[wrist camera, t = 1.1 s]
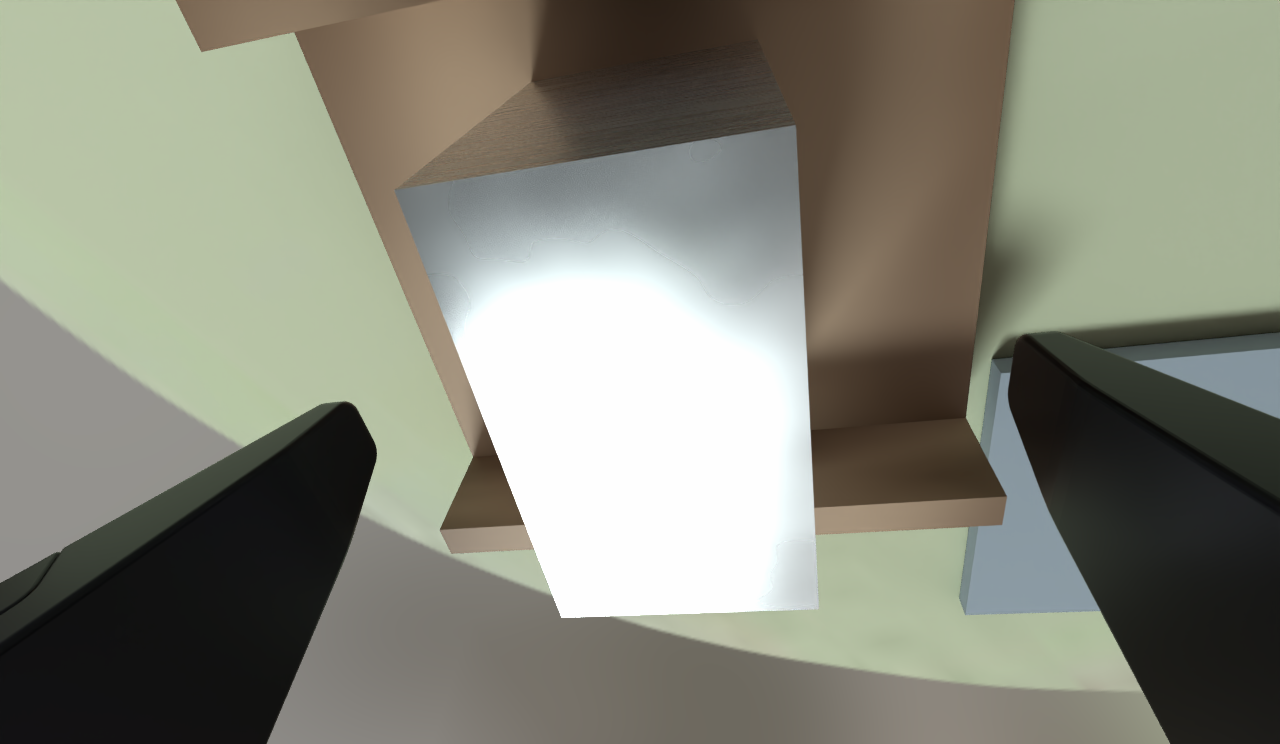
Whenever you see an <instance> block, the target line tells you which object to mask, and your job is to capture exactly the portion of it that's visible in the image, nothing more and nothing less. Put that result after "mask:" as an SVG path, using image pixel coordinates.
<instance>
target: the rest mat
mask: <svg viewBox="0 0 1280 744" xmlns="http://www.w3.org/2000/svg"><path fill="white" fill-rule="evenodd" d="M1104 350H1106V351H1109V352H1111V353H1114V354H1117V355H1119V356H1122V357H1124V358H1127V359H1129V360H1132V361H1134V362H1137V363H1139V364H1142V365H1144V366H1147V367H1150V368H1152V369H1155V370H1157V371H1160V372H1162V373H1165V374H1167V375H1170V376H1172V377H1175V378H1177V379H1180V380H1183V381H1185V382H1188V383H1190V384H1193V385H1195V386H1198V387H1200V388H1203V389H1205V390H1208V391H1211V392H1213V393H1216V394H1218V395H1221V396H1223V397H1226V398H1228V399H1231V400H1233V401H1236V402H1239V403H1241V404H1244V405H1246V406H1249V407H1251V408H1254V409H1256V410H1259V411H1261V412H1264V413H1267V414H1269V415H1272V416H1274V417H1277V418H1279V419H1280V332H1279V333H1268V334H1257V335H1247V336H1236V337H1225V338H1215V339H1204V340H1193V341H1183V342H1172V343H1162V344H1151V345H1140V346H1130V347H1119V348H1108V349H1104ZM1012 360H1013V358H1002V359H992V362H991V369H990V377H989V384H988V391H987V399H986V406H985V413H984V421H983V428H982V435H981V443H980V446H981V448H982V450H983V452H984V454H985V455H986V457H987V459H988V461H989V463H990V465H991V467H992V469H993V471H994V472H995V474H996V476H997V478H998V480H999V482H1000V484H1001V486H1002V488H1003V490H1004V491H1005V493H1006V495H1007V501H1006V506H1005V512H1004V518H1003V523H1002V525H995V526H975V527H969V530H968V538H967V545H966V552H965V560H964V567H963V574H962V582H961V589H960V596H959V599H960V602H961V604H962V607H963V610H964V612H965V615H979V614H1013V613H1047V612H1081V611H1100V609H1099V607H1098V606H1097V604H1096V602H1095V600H1094V598H1093V596H1092V594H1091V592H1090V590H1089V588H1088V587H1087V585H1086V583H1085V581H1084V579H1083V577H1082V575H1081V573H1080V571H1079V569H1078V568H1077V566H1076V564H1075V562H1074V560H1073V558H1072V556H1071V554H1070V552H1069V550H1068V549H1067V547H1066V545H1065V543H1064V541H1063V539H1062V537H1061V535H1060V533H1059V531H1058V530H1057V528H1056V525H1055V523H1054V521H1053V519H1052V517H1051V515H1050V513H1049V511H1048V509H1047V506H1046V504H1045V501H1044V499H1043V496H1042V494H1041V491H1040V488H1039V486H1038V483H1037V480H1036V478H1035V475H1034V472H1033V470H1032V467H1031V464H1030V462H1029V459H1028V456H1027V454H1026V451H1025V448H1024V446H1023V443H1022V440H1021V438H1020V435H1019V432H1018V429H1017V427H1016V424H1015V421H1014V419H1013V416H1012V413H1011V411H1010V408H1009V403H1008V386H1009V379H1010V373H1011V366H1012Z"/></svg>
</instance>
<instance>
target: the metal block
mask: <svg viewBox="0 0 1280 744" xmlns="http://www.w3.org/2000/svg"><path fill="white" fill-rule="evenodd" d="M394 191H395V194H396V196H397V199H398V201H399V204H400V207H401V209H402V212H403V214H404V217H405V219H406V222H407V224H408V227H409V229H410V232H411V235H412V237H413V240H414V242H415V245H416V247H417V250H418V252H419V255H420V257H421V260H422V263H423V265H424V268H425V270H426V273H427V275H428V278H429V280H430V283H431V285H432V288H433V291H434V293H435V296H436V298H437V301H438V303H439V306H440V308H441V311H442V314H443V316H444V319H445V321H446V324H447V326H448V329H449V331H450V334H451V336H452V339H453V342H454V344H455V347H456V349H457V352H458V354H459V357H460V359H461V362H462V364H463V367H464V370H465V372H466V375H467V377H468V380H469V382H470V385H471V387H472V390H473V392H474V395H475V398H476V400H477V403H478V405H479V408H480V410H481V413H482V415H483V418H484V420H485V423H486V426H487V428H488V431H489V433H490V436H491V438H492V441H493V443H494V446H495V448H496V451H497V454H498V456H499V459H500V461H501V464H502V466H503V469H504V471H505V474H506V476H507V479H508V482H509V484H510V487H511V489H512V492H513V494H514V497H515V499H516V502H517V504H518V507H519V510H520V512H521V515H522V517H523V520H524V522H525V525H526V527H527V530H528V533H529V535H530V538H531V540H532V543H533V545H534V548H535V550H536V553H537V555H538V558H539V561H540V563H541V566H542V568H543V571H544V573H545V576H546V578H547V581H548V583H549V586H550V589H551V591H552V594H553V596H554V599H555V601H556V604H557V606H558V609H559V611H560V614H561V616H562V617H587V616H620V615H651V614H683V613H714V612H745V611H777V610H808V609H819V600H818V579H817V558H816V537H815V516H814V495H813V474H812V453H811V432H810V411H809V390H808V369H807V348H806V327H805V306H804V285H803V264H802V243H801V222H800V201H799V180H798V159H797V137H796V124H795V122H794V120H793V118H792V115H791V113H790V111H789V109H788V106H787V104H786V102H785V100H784V97H783V95H782V93H781V91H780V88H779V86H778V84H777V82H776V79H775V77H774V75H773V73H772V70H771V68H770V66H769V64H768V61H767V59H766V57H765V55H764V52H763V50H762V48H761V46H760V44H759V41H758V39H757V40H752V41H747V42H741V43H736V44H730V45H725V46H720V47H714V48H709V49H704V50H698V51H693V52H688V53H682V54H677V55H672V56H666V57H661V58H655V59H650V60H645V61H639V62H634V63H629V64H623V65H618V66H613V67H607V68H602V69H597V70H591V71H586V72H580V73H575V74H570V75H564V76H559V77H554V78H548V79H543V80H538V81H532V82H530V83H529V84H528V85H526V86H525V87H524V88H523V89H521V90H520V91H519V92H518V93H516V94H515V95H514V96H512V97H511V98H510V99H509V100H507V101H506V102H505V103H504V104H502V105H501V106H500V107H499V108H497V109H496V110H495V111H494V112H492V113H491V114H490V115H488V116H487V117H486V118H485V119H483V120H482V121H481V122H480V123H478V124H477V125H476V126H475V127H473V128H472V129H471V130H469V131H468V132H467V133H466V134H464V135H463V136H462V137H461V138H459V139H458V140H457V141H456V142H454V143H453V144H452V145H451V146H449V147H448V148H447V149H445V150H444V151H443V152H442V153H440V154H439V155H438V156H437V157H435V158H434V159H433V160H432V161H430V162H429V163H428V164H426V165H425V166H424V167H423V168H421V169H420V170H419V171H418V172H416V173H415V174H414V175H413V176H411V177H410V178H409V179H408V180H406V181H405V182H404V183H402V184H401V185H400V186H399V187H397V188H396V189H395V190H394Z"/></svg>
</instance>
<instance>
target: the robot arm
mask: <svg viewBox="0 0 1280 744" xmlns="http://www.w3.org/2000/svg"><path fill="white" fill-rule="evenodd" d="M1008 403H1009V408H1010V411H1011V413H1012V416H1013V419H1014V421H1015V424H1016V427H1017V429H1018V432H1019V435H1020V438H1021V440H1022V443H1023V446H1024V448H1025V451H1026V454H1027V456H1028V459H1029V462H1030V464H1031V467H1032V470H1033V472H1034V475H1035V478H1036V480H1037V483H1038V486H1039V488H1040V491H1041V494H1042V496H1043V499H1044V501H1045V504H1046V506H1047V509H1048V511H1049V513H1050V515H1051V517H1052V519H1053V521H1054V523H1055V525H1056V528H1057V530H1058V531H1059V533H1060V535H1061V537H1062V539H1063V541H1064V543H1065V545H1066V547H1067V549H1068V550H1069V552H1070V554H1071V556H1072V558H1073V560H1074V562H1075V564H1076V566H1077V568H1078V569H1079V571H1080V573H1081V575H1082V577H1083V579H1084V581H1085V583H1086V585H1087V587H1088V588H1089V590H1090V592H1091V594H1092V596H1093V598H1094V600H1095V602H1096V604H1097V606H1098V607H1099V609H1100V611H1101V613H1102V615H1103V617H1104V619H1105V621H1106V623H1107V624H1108V626H1109V628H1110V630H1111V632H1112V634H1113V636H1114V638H1115V640H1116V642H1117V643H1118V645H1119V647H1120V649H1121V651H1122V653H1123V655H1124V657H1125V659H1126V661H1127V662H1128V664H1129V666H1130V668H1131V670H1132V672H1133V674H1134V676H1135V678H1136V680H1137V681H1138V683H1139V685H1140V687H1141V689H1142V691H1143V693H1144V695H1145V697H1146V699H1147V700H1148V702H1149V704H1150V706H1151V708H1152V710H1153V712H1154V714H1155V716H1156V717H1157V719H1158V721H1159V723H1160V725H1161V727H1162V729H1163V731H1164V732H1165V735H1166V736H1167V738H1168V740H1169V742H1170V744H1280V419H1279V418H1277V417H1274V416H1272V415H1269V414H1267V413H1264V412H1261V411H1259V410H1256V409H1254V408H1251V407H1249V406H1246V405H1244V404H1241V403H1239V402H1236V401H1233V400H1231V399H1228V398H1226V397H1223V396H1221V395H1218V394H1216V393H1213V392H1211V391H1208V390H1205V389H1203V388H1200V387H1198V386H1195V385H1193V384H1190V383H1188V382H1185V381H1183V380H1180V379H1177V378H1175V377H1172V376H1170V375H1167V374H1165V373H1162V372H1160V371H1157V370H1155V369H1152V368H1150V367H1147V366H1144V365H1142V364H1139V363H1137V362H1134V361H1132V360H1129V359H1127V358H1124V357H1122V356H1119V355H1117V354H1114V353H1111V352H1109V351H1106V350H1104V349H1101V348H1099V347H1096V346H1094V345H1091V344H1089V343H1086V342H1083V341H1081V340H1078V339H1076V338H1073V337H1071V336H1068V335H1066V334H1063V333H1061V332H1055V331H1051V332H1041V333H1031V334H1024V335H1022V336H1021V337H1019V338H1018V340H1017V342H1016V344H1015V348H1014V354H1013V360H1012V366H1011V373H1010V379H1009V386H1008ZM376 458H377V449H376V445H375V442H374V440H373V438H372V437H371V435H370V433H369V431H368V429H367V427H366V425H365V423H364V421H363V419H362V417H361V415H360V414H359V412H358V410H357V408H356V407H355V406H354V405H353V404H352V403H349V402H346V401H345V402H333V403H324V404H321V405H319V406H317V407H315V408H313V409H311V410H310V411H308V412H306V413H304V414H303V415H301V416H299V417H297V418H295V419H294V420H292V421H290V422H288V423H286V424H285V425H283V426H281V427H279V428H278V429H276V430H274V431H272V432H270V433H269V434H267V435H265V436H263V437H261V438H260V439H258V440H256V441H254V442H252V443H251V444H249V445H247V446H245V447H244V448H242V449H240V450H238V451H236V452H235V453H233V454H231V455H229V456H228V457H226V458H224V459H222V460H221V461H218V462H217V463H215V464H213V465H211V466H210V467H208V468H206V469H204V470H202V471H201V472H199V473H197V474H195V475H194V476H192V477H190V478H188V479H186V480H185V481H183V482H181V483H179V484H177V485H176V486H174V487H172V488H171V489H168V490H167V491H165V492H163V493H161V494H159V495H158V496H156V497H154V498H152V499H151V500H149V501H147V502H145V503H143V504H142V505H140V506H138V507H136V508H134V509H133V510H131V511H129V512H127V513H126V514H124V515H122V516H120V517H119V518H117V519H115V520H113V521H111V522H109V523H108V524H106V525H104V526H102V527H100V528H99V529H97V530H95V531H93V532H92V533H90V534H88V535H86V536H84V537H83V538H81V539H79V540H77V541H75V542H74V543H72V544H70V545H68V546H67V547H65V548H64V549H63V550H62V551H61V553H60V552H56V553H54V554H52V555H50V556H48V557H47V558H45V559H43V560H41V561H40V562H38V563H36V564H34V565H33V566H30V567H29V568H27V569H25V570H23V571H22V572H20V573H18V574H16V575H14V576H13V577H11V578H9V579H7V580H5V581H3V582H1V583H0V744H267V742H268V739H269V737H270V735H271V732H272V730H273V728H274V725H275V723H276V721H277V718H278V716H279V713H280V711H281V709H282V706H283V704H284V701H285V699H286V697H287V695H288V692H289V690H290V687H291V685H292V682H293V680H294V678H295V676H296V673H297V671H298V668H299V666H300V664H301V662H302V659H303V657H304V654H305V652H306V650H307V647H308V645H309V643H310V640H311V638H312V636H313V633H314V631H315V628H316V626H317V624H318V621H319V619H320V617H321V614H322V612H323V610H324V607H325V605H326V603H327V600H328V598H329V595H330V593H331V591H332V588H333V586H334V584H335V581H336V579H337V577H338V574H339V572H340V569H341V567H342V565H343V562H344V560H345V557H346V554H347V552H348V549H349V546H350V544H351V540H352V538H353V535H354V531H355V528H356V525H357V522H358V518H359V515H360V512H361V509H362V505H363V502H364V499H365V496H366V492H367V489H368V486H369V482H370V479H371V476H372V473H373V469H374V466H375V463H376Z"/></svg>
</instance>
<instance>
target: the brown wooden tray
mask: <svg viewBox="0 0 1280 744" xmlns="http://www.w3.org/2000/svg"><path fill="white" fill-rule="evenodd" d="M176 2H177V4H178V6H179V8H180V10H181V12H182V14H183V16H184V18H185V20H186V22H187V24H188V26H189V28H190V30H191V32H192V34H193V36H194V38H195V40H196V42H197V44H198V46H199V48H200V50H201V52H204V51H208V50H213V49H218V48H222V47H227V46H231V45H236V44H241V43H245V42H250V41H255V40H259V39H264V38H269V37H273V36H278V35H282V34H287V33H292V32H294V33H295V35H296V37H297V40H298V42H299V44H300V47H301V49H302V52H303V54H304V56H305V59H306V61H307V63H308V66H309V68H310V71H311V73H312V75H313V78H314V80H315V82H316V85H317V87H318V90H319V92H320V94H321V97H322V99H323V101H324V104H325V106H326V109H327V111H328V113H329V116H330V118H331V120H332V123H333V125H334V128H335V130H336V132H337V135H338V137H339V139H340V142H341V144H342V147H343V149H344V151H345V154H346V156H347V158H348V161H349V163H350V166H351V168H352V170H353V173H354V175H355V177H356V180H357V182H358V185H359V187H360V189H361V192H362V194H363V196H364V199H365V201H366V204H367V206H368V208H369V211H370V213H371V215H372V218H373V220H374V223H375V225H376V227H377V230H378V232H379V234H380V237H381V239H382V242H383V244H384V246H385V249H386V251H387V253H388V256H389V258H390V261H391V263H392V265H393V268H394V270H395V272H396V275H397V277H398V280H399V282H400V284H401V287H402V289H403V291H404V294H405V296H406V299H407V301H408V303H409V306H410V308H411V310H412V313H413V315H414V318H415V320H416V322H417V325H418V327H419V329H420V332H421V334H422V337H423V339H424V341H425V344H426V346H427V348H428V351H429V353H430V356H431V358H432V360H433V363H434V365H435V367H436V370H437V372H438V375H439V377H440V379H441V382H442V384H443V386H444V389H445V391H446V394H447V396H448V398H449V401H450V403H451V405H452V408H453V410H454V413H455V415H456V417H457V420H458V422H459V424H460V427H461V429H462V432H463V434H464V436H465V439H466V441H467V443H468V446H469V448H470V451H471V453H472V455H473V459H472V461H471V463H470V465H469V467H468V470H467V472H466V474H465V476H464V478H463V480H462V483H461V485H460V487H459V489H458V491H457V493H456V496H455V498H454V500H453V502H452V504H451V506H450V509H449V511H448V513H447V515H446V517H445V519H444V522H443V524H442V526H441V528H440V532H441V534H442V536H443V538H444V540H445V542H446V544H447V546H448V548H449V550H450V552H451V554H453V553H473V552H492V551H511V550H531V549H535V548H534V545H533V543H532V540H531V538H530V535H529V533H528V530H527V527H526V525H525V522H524V520H523V517H522V515H521V512H520V510H519V507H518V504H517V502H516V499H515V497H514V494H513V492H512V489H511V487H510V484H509V482H508V479H507V476H506V474H505V471H504V469H503V466H502V464H501V461H500V459H499V456H498V454H497V451H496V448H495V446H494V443H493V441H492V438H491V436H490V433H489V431H488V428H487V426H486V423H485V420H484V418H483V415H482V413H481V410H480V408H479V405H478V403H477V400H476V398H475V395H474V392H473V390H472V387H471V385H470V382H469V380H468V377H467V375H466V372H465V370H464V367H463V364H462V362H461V359H460V357H459V354H458V352H457V349H456V347H455V344H454V342H453V339H452V336H451V334H450V331H449V329H448V326H447V324H446V321H445V319H444V316H443V314H442V311H441V308H440V306H439V303H438V301H437V298H436V296H435V293H434V291H433V288H432V285H431V283H430V280H429V278H428V275H427V273H426V270H425V268H424V265H423V263H422V260H421V257H420V255H419V252H418V250H417V247H416V245H415V242H414V240H413V237H412V235H411V232H410V229H409V227H408V224H407V222H406V219H405V217H404V214H403V212H402V209H401V207H400V204H399V201H398V199H397V196H396V194H395V191H394V190H395V189H396V188H397V187H399V186H400V185H401V184H402V183H404V182H405V181H406V180H408V179H409V178H410V177H411V176H413V175H414V174H415V173H416V172H418V171H419V170H420V169H421V168H423V167H424V166H425V165H426V164H428V163H429V162H430V161H432V160H433V159H434V158H435V157H437V156H438V155H439V154H440V153H442V152H443V151H444V150H445V149H447V148H448V147H449V146H451V145H452V144H453V143H454V142H456V141H457V140H458V139H459V138H461V137H462V136H463V135H464V134H466V133H467V132H468V131H469V130H471V129H472V128H473V127H475V126H476V125H477V124H478V123H480V122H481V121H482V120H483V119H485V118H486V117H487V116H488V115H490V114H491V113H492V112H494V111H495V110H496V109H497V108H499V107H500V106H501V105H502V104H504V103H505V102H506V101H507V100H509V99H510V98H511V97H512V96H514V95H515V94H516V93H518V92H519V91H520V90H521V89H523V88H524V87H525V86H526V85H528V84H529V83H530V82H532V81H538V80H543V79H548V78H554V77H559V76H564V75H570V74H575V73H580V72H586V71H591V70H597V69H602V68H607V67H613V66H618V65H623V64H629V63H634V62H639V61H645V60H650V59H655V58H661V57H666V56H672V55H677V54H682V53H688V52H693V51H698V50H704V49H709V48H714V47H720V46H725V45H730V44H736V43H741V42H747V41H752V40H757V39H758V41H759V44H760V46H761V48H762V50H763V52H764V55H765V57H766V59H767V61H768V64H769V66H770V68H771V70H772V73H773V75H774V77H775V79H776V82H777V84H778V86H779V88H780V91H781V93H782V95H783V97H784V100H785V102H786V104H787V106H788V109H789V111H790V113H791V115H792V118H793V120H794V122H795V124H796V137H797V159H798V180H799V201H800V222H801V243H802V264H803V285H804V306H805V327H806V348H807V369H808V390H809V411H810V432H811V453H812V474H813V495H814V516H815V535H821V534H840V533H859V532H879V531H898V530H917V529H937V528H956V527H975V526H995V525H1002V523H1003V518H1004V512H1005V506H1006V501H1007V495H1006V493H1005V491H1004V490H1003V488H1002V486H1001V484H1000V482H999V480H998V478H997V476H996V474H995V472H994V471H993V469H992V467H991V465H990V463H989V461H988V459H987V457H986V455H985V454H984V452H983V450H982V448H981V446H980V444H979V442H978V440H977V438H976V436H975V435H974V433H973V431H972V429H971V427H970V425H969V423H968V421H967V419H966V411H967V402H968V394H969V385H970V377H971V368H972V360H973V351H974V343H975V334H976V326H977V317H978V309H979V300H980V292H981V283H982V275H983V266H984V258H985V249H986V241H987V232H988V223H989V215H990V206H991V198H992V189H993V181H994V172H995V164H996V155H997V147H998V138H999V130H1000V121H1001V113H1002V104H1003V96H1004V87H1005V79H1006V70H1007V62H1008V53H1009V45H1010V36H1011V27H1012V19H1013V10H1014V2H1015V0H176Z"/></svg>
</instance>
